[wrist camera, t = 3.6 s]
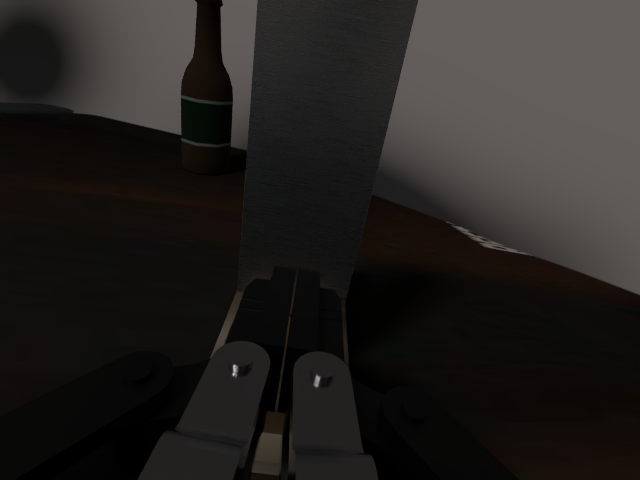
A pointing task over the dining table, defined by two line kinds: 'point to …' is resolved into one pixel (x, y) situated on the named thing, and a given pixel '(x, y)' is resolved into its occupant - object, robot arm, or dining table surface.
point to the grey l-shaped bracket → (317, 132)
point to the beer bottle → (206, 98)
